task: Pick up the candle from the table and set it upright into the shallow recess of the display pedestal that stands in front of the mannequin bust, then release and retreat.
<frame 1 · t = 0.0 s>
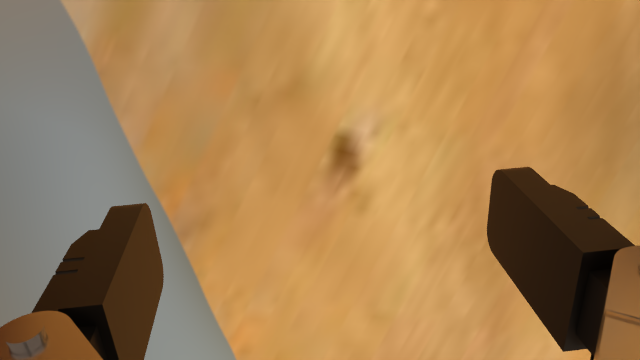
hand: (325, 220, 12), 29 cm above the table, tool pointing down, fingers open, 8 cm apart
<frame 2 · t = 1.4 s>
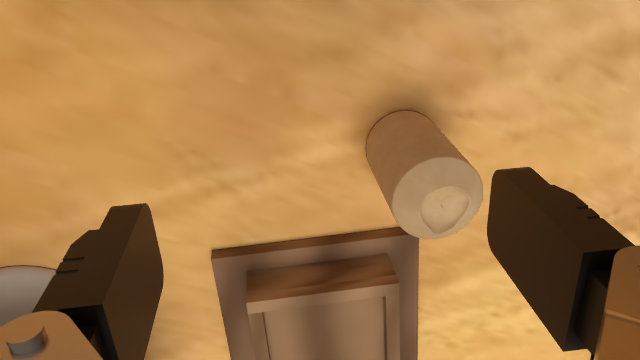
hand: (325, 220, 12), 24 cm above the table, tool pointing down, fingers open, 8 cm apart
candle: (401, 144, 39), on the table
display pedestal: (321, 307, 44), on the table
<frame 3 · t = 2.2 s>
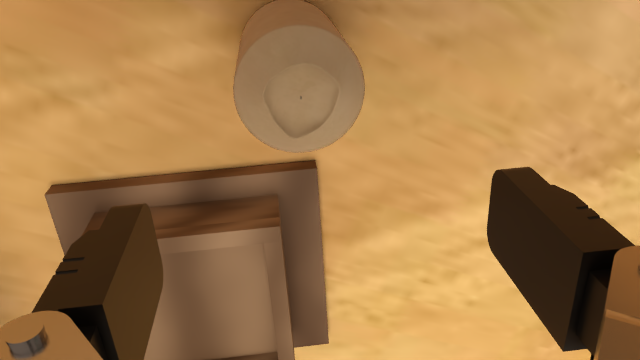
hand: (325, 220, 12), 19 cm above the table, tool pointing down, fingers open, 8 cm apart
candle: (289, 48, 30), on the table
display pedestal: (203, 266, 35), on the table
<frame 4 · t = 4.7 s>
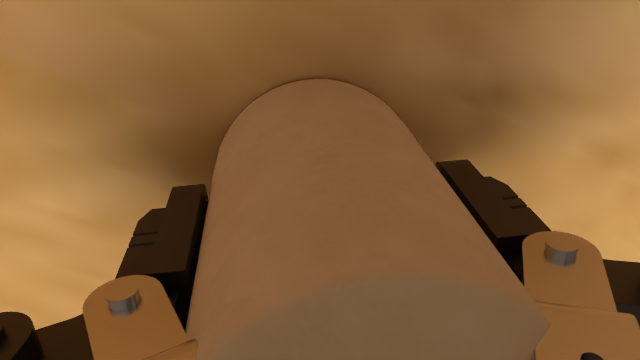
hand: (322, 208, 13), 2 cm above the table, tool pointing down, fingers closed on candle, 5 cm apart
candle: (314, 169, 15), on the table, touching gripper
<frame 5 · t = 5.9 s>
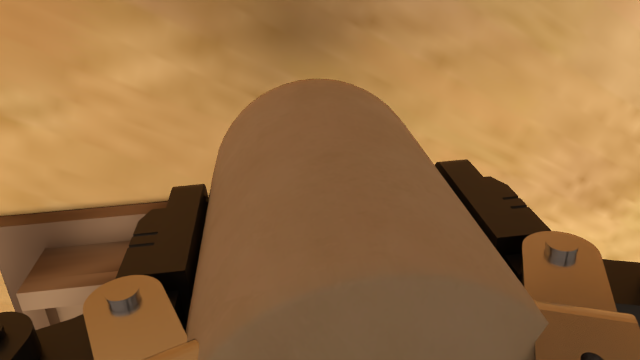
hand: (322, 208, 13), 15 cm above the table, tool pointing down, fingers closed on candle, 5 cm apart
candle: (314, 169, 15), point 13 cm above the table, touching gripper
display pedestal: (171, 306, 31), on the table
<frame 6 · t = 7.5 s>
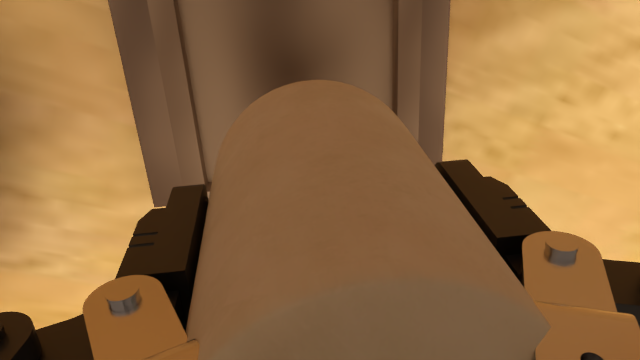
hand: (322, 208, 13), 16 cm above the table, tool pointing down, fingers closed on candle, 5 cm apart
candle: (314, 170, 15), point 14 cm above the table, touching gripper
display pedestal: (289, 62, 27), on the table
when the fingers open (7 cm above the table, at t = 9.8 s): candle drops 1 cm, resting on display pedestal.
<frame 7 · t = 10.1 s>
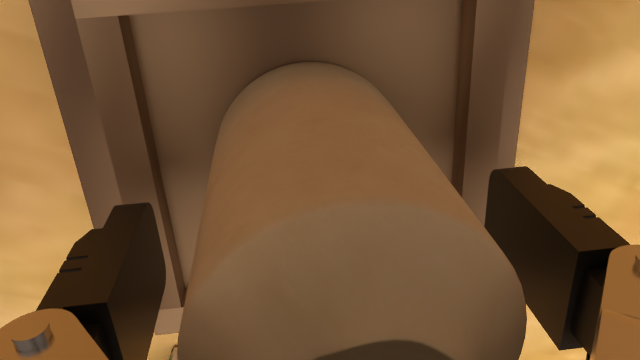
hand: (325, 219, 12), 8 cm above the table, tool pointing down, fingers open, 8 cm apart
candle: (308, 147, 16), point 4 cm above the table, touching display pedestal
display pedestal: (300, 111, 19), on the table
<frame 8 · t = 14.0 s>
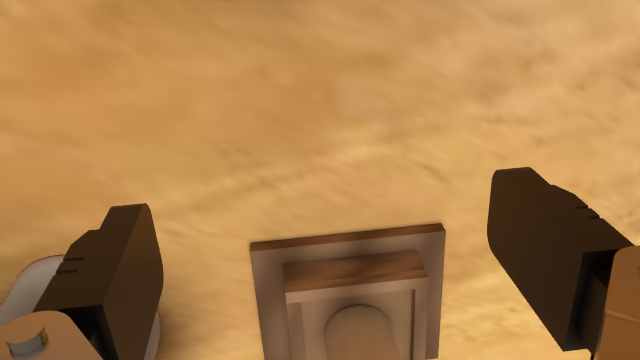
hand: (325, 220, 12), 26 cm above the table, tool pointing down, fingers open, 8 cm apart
candle: (356, 328, 43), point 4 cm above the table, touching display pedestal
mannequin bust: (66, 349, 46), on the table
display pedestal: (349, 300, 46), on the table
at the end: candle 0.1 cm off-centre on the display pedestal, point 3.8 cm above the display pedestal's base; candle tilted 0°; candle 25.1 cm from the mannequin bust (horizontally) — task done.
